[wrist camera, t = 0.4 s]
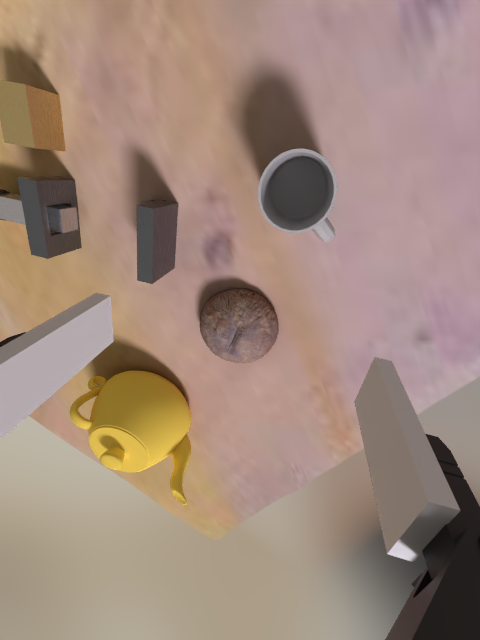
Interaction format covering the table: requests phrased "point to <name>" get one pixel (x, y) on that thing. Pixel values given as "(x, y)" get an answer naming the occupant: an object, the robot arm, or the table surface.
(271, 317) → the decorative stone
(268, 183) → the cup
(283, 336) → the table surface
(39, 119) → the block
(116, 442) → the teapot
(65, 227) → the shaft
